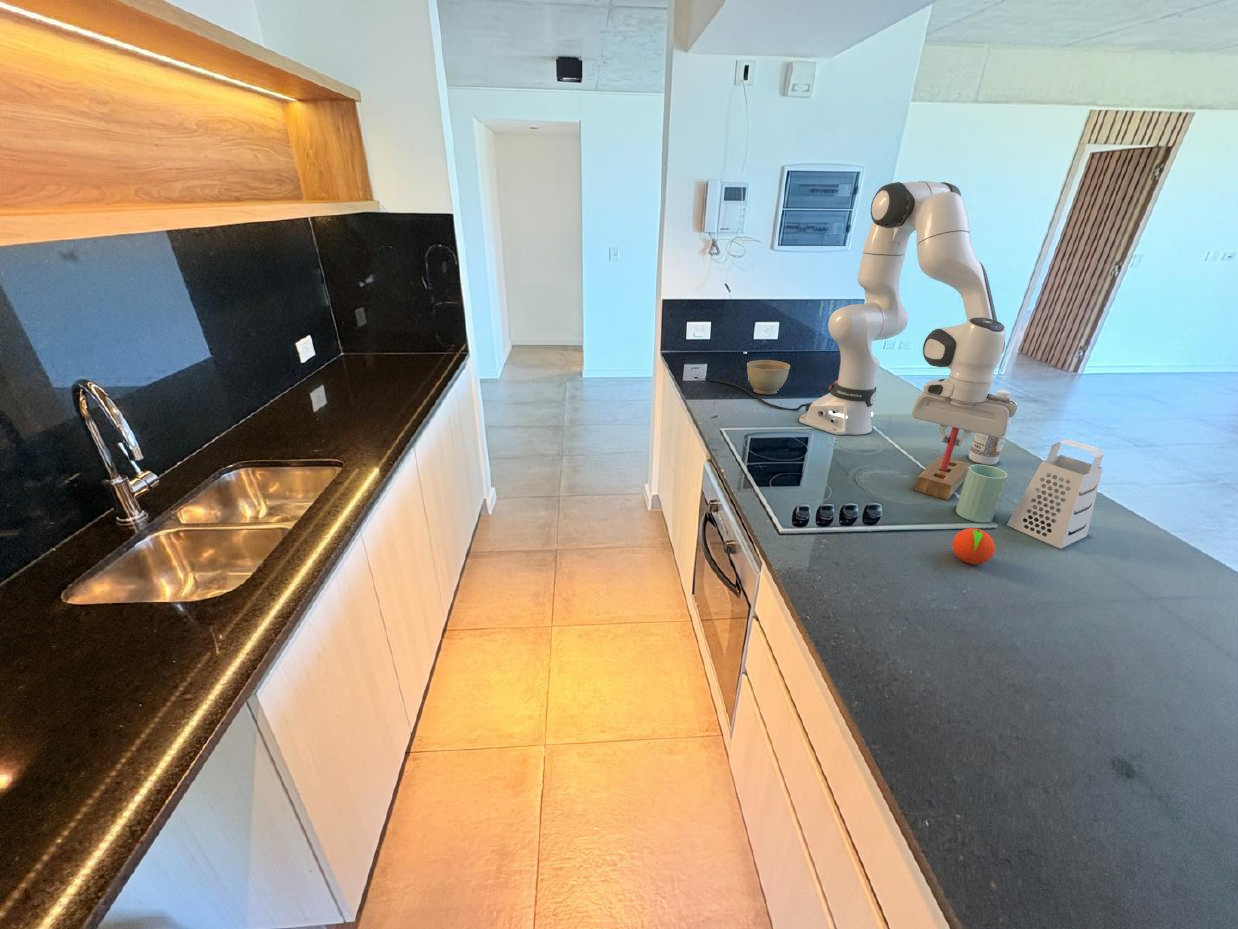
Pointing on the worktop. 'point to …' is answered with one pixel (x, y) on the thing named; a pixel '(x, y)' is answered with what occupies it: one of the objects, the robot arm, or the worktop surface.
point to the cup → (981, 493)
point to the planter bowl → (767, 375)
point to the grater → (1060, 496)
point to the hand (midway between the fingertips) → (951, 443)
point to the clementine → (973, 546)
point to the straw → (949, 449)
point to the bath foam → (987, 444)
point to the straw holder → (942, 478)
